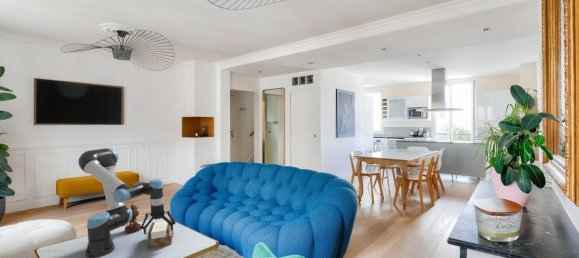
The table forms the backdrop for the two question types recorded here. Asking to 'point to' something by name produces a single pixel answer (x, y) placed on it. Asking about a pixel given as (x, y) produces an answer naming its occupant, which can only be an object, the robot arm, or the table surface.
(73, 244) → the table surface
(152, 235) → the thick cream rectangular block
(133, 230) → the music box
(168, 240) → the brown channel-shaped piece
